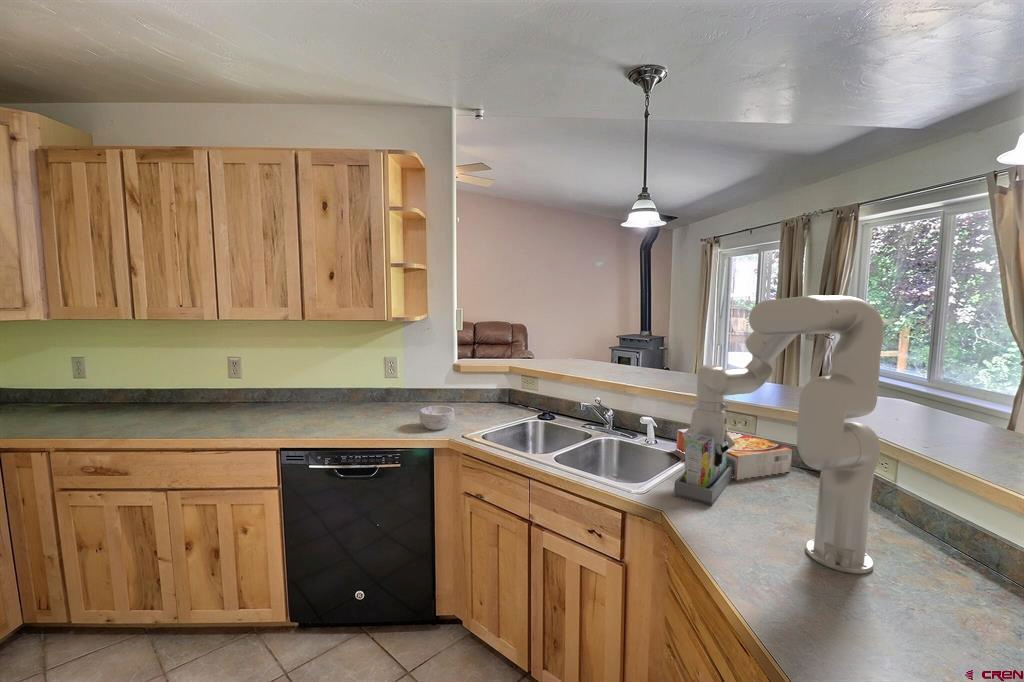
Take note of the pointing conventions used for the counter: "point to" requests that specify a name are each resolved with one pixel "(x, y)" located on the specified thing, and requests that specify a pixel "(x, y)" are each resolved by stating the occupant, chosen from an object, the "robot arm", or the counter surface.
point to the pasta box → (751, 455)
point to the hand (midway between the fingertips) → (706, 462)
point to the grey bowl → (436, 417)
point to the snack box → (702, 461)
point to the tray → (700, 493)
